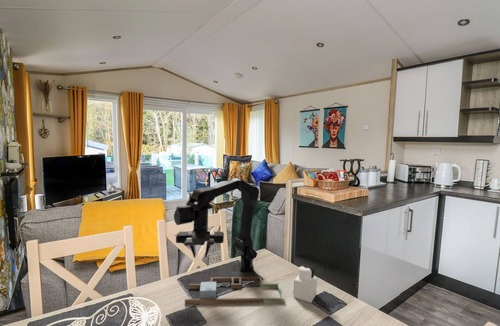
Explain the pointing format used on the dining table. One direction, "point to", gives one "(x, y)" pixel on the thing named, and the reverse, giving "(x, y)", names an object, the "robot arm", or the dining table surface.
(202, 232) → the robot arm
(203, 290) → the block
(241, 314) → the dining table surface
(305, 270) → the medicine bottle
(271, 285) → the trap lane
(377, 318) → the dining table surface
